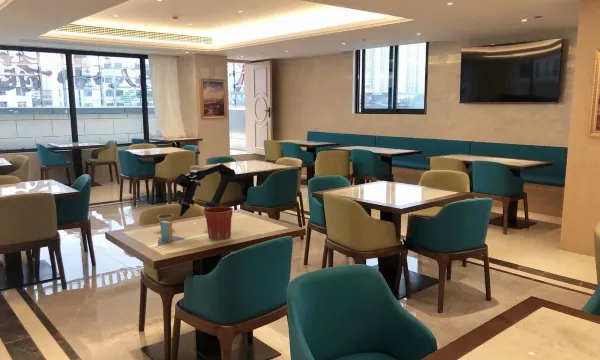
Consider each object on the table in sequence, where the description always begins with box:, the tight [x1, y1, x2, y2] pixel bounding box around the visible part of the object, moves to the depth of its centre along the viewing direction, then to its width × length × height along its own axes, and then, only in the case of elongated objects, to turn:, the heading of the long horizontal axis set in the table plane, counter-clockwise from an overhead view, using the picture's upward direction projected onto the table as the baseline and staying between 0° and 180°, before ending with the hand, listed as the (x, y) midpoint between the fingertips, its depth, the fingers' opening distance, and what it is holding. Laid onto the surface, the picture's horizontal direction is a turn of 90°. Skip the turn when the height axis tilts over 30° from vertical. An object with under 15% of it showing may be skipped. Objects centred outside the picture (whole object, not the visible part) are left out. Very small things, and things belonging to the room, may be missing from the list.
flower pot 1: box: [157, 213, 174, 228], centre depth 298 cm, size 9×9×9 cm
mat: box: [157, 234, 186, 247], centre depth 272 cm, size 20×15×1 cm
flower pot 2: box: [203, 206, 234, 241], centre depth 276 cm, size 16×16×16 cm
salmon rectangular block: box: [159, 221, 174, 241], centre depth 274 cm, size 3×7×10 cm, turn 50°
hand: (180, 216), depth 280 cm, fingers closed
